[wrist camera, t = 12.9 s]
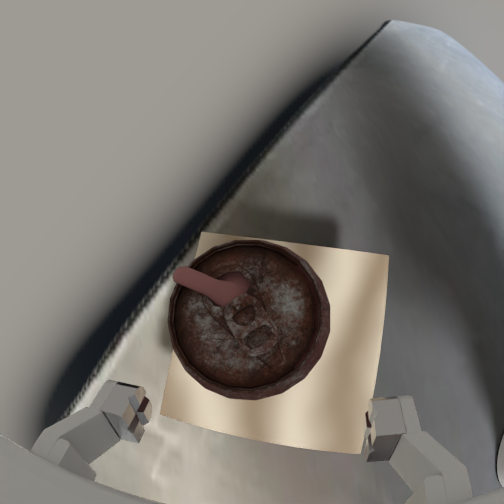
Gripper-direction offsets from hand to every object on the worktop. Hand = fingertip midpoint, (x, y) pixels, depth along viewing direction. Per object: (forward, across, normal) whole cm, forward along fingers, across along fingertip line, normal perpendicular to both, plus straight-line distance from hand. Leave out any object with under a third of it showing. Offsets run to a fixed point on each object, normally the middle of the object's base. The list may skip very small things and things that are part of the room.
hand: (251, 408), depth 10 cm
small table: (+17, 0, +12) cm, 21 cm away
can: (+12, +1, +7) cm, 14 cm away
